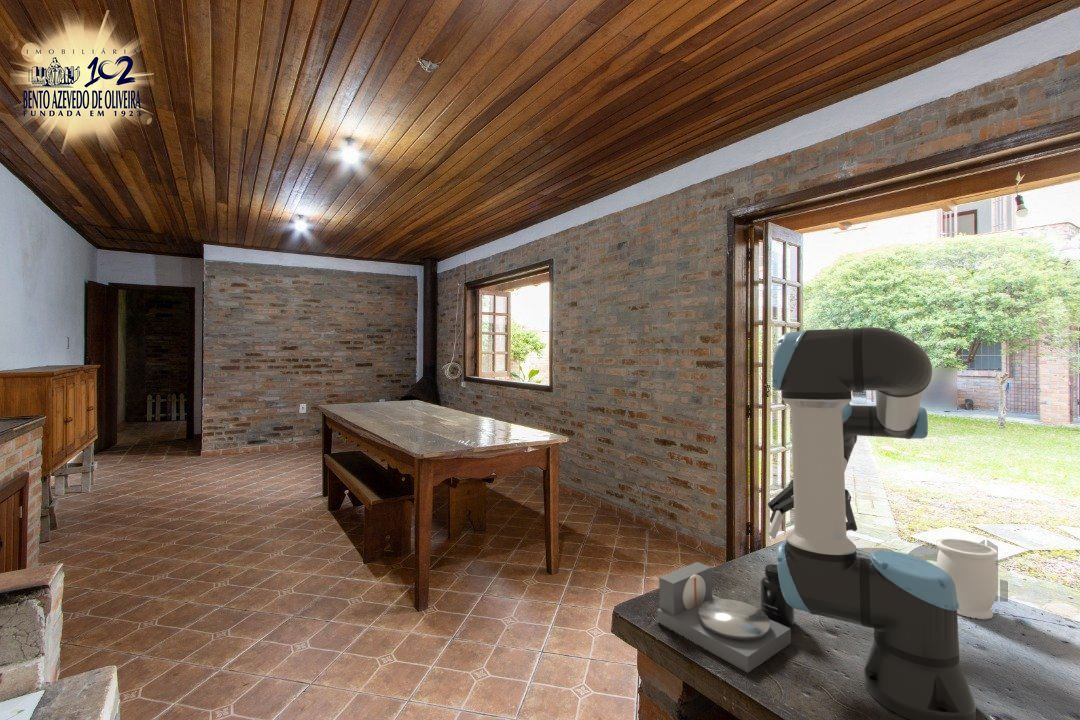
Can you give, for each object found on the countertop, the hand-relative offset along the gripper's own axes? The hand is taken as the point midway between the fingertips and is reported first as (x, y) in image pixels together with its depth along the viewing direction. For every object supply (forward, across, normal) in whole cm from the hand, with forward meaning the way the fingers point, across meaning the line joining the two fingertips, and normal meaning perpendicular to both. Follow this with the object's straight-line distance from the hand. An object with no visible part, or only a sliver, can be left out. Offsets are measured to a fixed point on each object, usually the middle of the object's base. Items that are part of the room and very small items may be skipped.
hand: (798, 543), depth 113 cm
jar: (-9, -24, -31) cm, 40 cm away
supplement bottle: (+18, 0, -3) cm, 19 cm away
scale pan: (+25, +2, +9) cm, 27 cm away
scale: (+28, +5, +7) cm, 29 cm away
